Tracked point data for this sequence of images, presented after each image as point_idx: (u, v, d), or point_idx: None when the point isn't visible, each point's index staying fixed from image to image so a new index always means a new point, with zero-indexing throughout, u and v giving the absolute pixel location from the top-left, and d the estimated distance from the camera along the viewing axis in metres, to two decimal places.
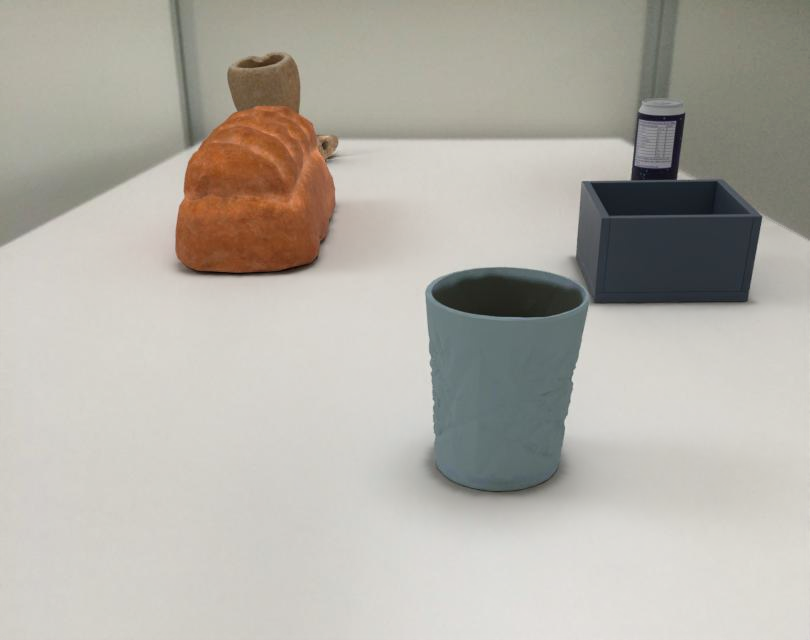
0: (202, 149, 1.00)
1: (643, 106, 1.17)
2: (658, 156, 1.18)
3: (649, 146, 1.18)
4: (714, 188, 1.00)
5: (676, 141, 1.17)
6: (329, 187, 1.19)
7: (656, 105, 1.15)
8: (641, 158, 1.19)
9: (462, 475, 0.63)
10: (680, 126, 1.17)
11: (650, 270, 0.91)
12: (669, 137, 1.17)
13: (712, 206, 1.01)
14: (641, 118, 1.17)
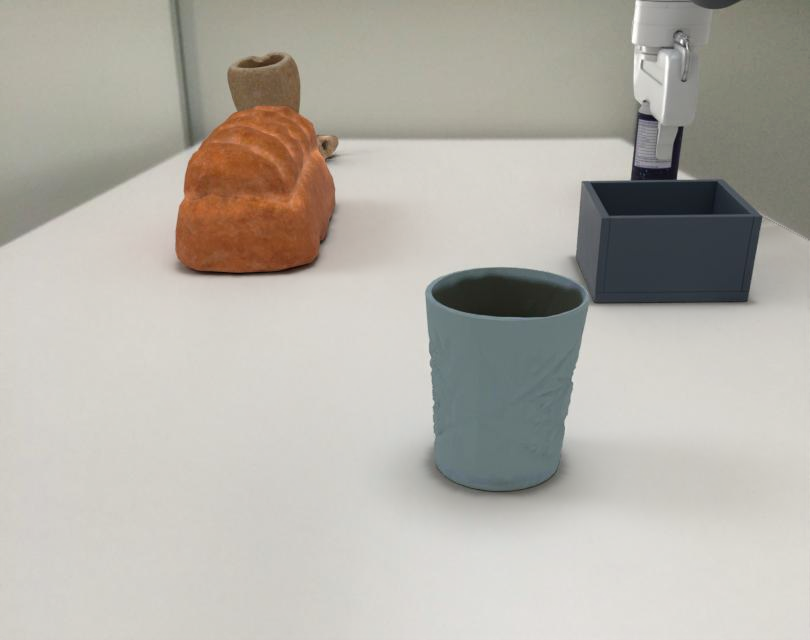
0: (202, 149, 1.00)
1: (643, 106, 1.17)
2: None
3: (648, 146, 1.18)
4: (714, 188, 1.00)
5: (676, 141, 1.17)
6: (329, 187, 1.19)
7: None
8: (641, 158, 1.19)
9: (462, 475, 0.63)
10: (680, 126, 1.17)
11: (650, 270, 0.91)
12: None
13: (712, 206, 1.01)
14: (641, 118, 1.17)
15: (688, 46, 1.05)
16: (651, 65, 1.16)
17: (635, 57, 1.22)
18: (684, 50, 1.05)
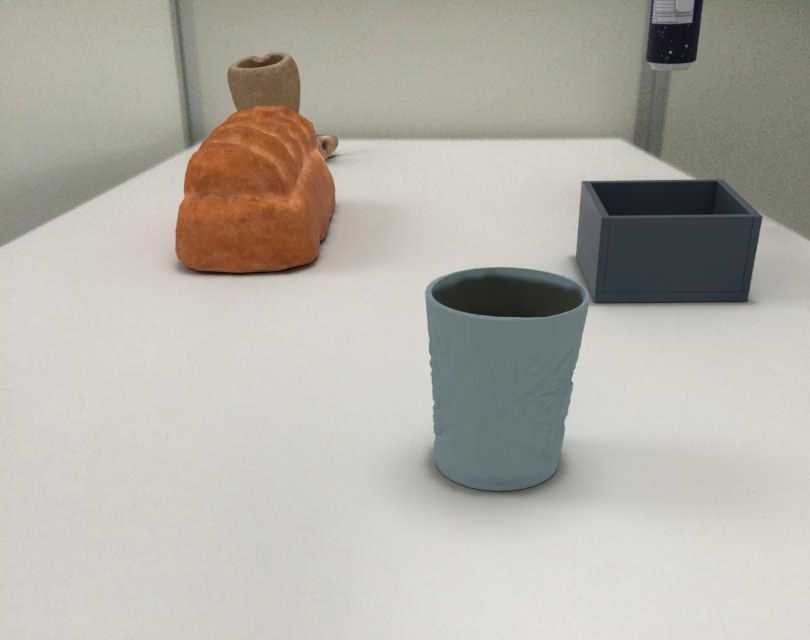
0: (202, 149, 1.00)
1: None
2: None
3: None
4: (714, 188, 1.00)
5: None
6: (329, 187, 1.19)
7: None
8: (660, 12, 1.08)
9: (462, 475, 0.63)
10: None
11: (650, 270, 0.91)
12: None
13: (712, 206, 1.01)
14: None
15: None
16: None
17: None
18: None
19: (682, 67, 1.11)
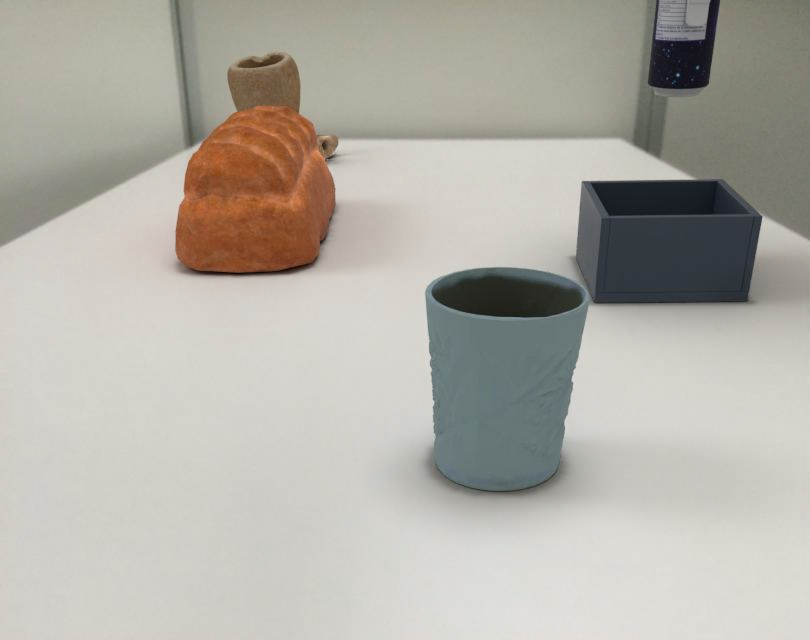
0: (202, 149, 1.00)
1: None
2: None
3: (675, 10, 0.87)
4: (714, 188, 1.00)
5: (713, 1, 0.87)
6: (329, 187, 1.19)
7: None
8: (665, 27, 0.88)
9: (462, 475, 0.63)
10: None
11: (650, 270, 0.91)
12: None
13: (712, 206, 1.01)
14: None
15: None
16: None
17: None
18: None
19: (692, 93, 0.91)
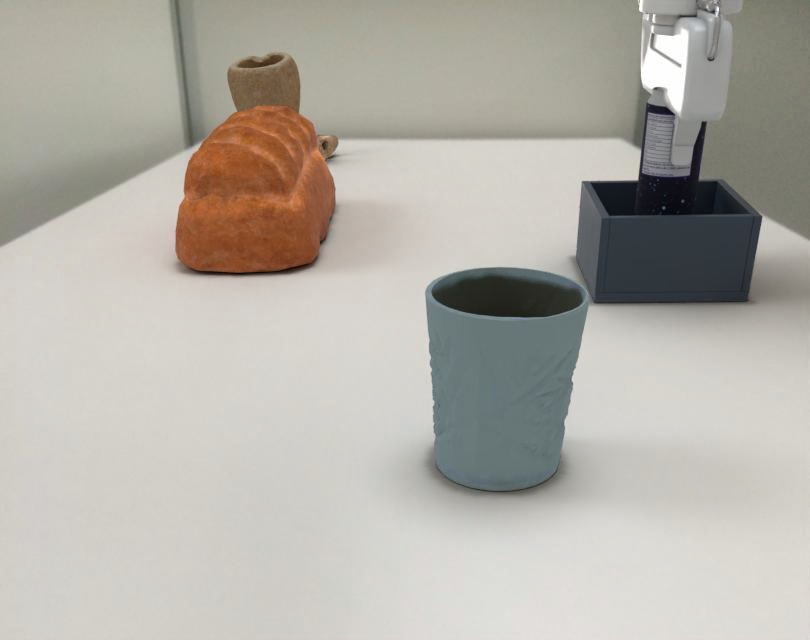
0: (202, 149, 1.00)
1: (654, 95, 0.89)
2: None
3: (661, 148, 0.90)
4: (714, 188, 1.00)
5: (697, 141, 0.89)
6: (329, 187, 1.19)
7: None
8: (651, 163, 0.91)
9: (462, 475, 0.63)
10: (703, 121, 0.89)
11: (650, 270, 0.91)
12: None
13: (712, 206, 1.01)
14: (651, 110, 0.89)
15: (718, 11, 0.77)
16: (665, 41, 0.88)
17: (643, 32, 0.94)
18: (712, 17, 0.77)
19: None
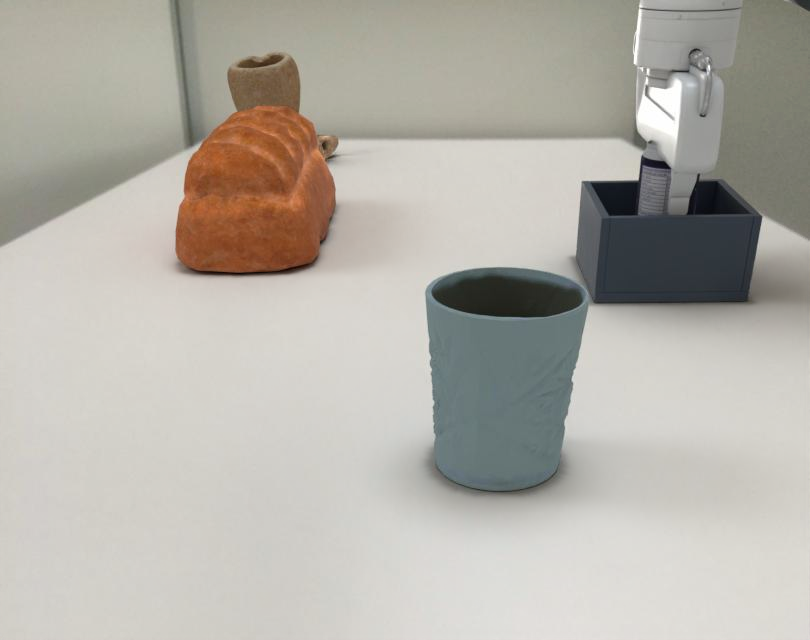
0: (202, 149, 1.00)
1: (648, 149, 0.91)
2: None
3: (655, 200, 0.92)
4: (714, 188, 1.00)
5: None
6: (329, 187, 1.19)
7: None
8: (646, 214, 0.93)
9: (462, 475, 0.63)
10: None
11: (650, 270, 0.91)
12: None
13: (712, 206, 1.01)
14: (646, 164, 0.92)
15: (709, 70, 0.79)
16: (659, 92, 0.91)
17: (638, 80, 0.96)
18: (704, 76, 0.80)
19: None
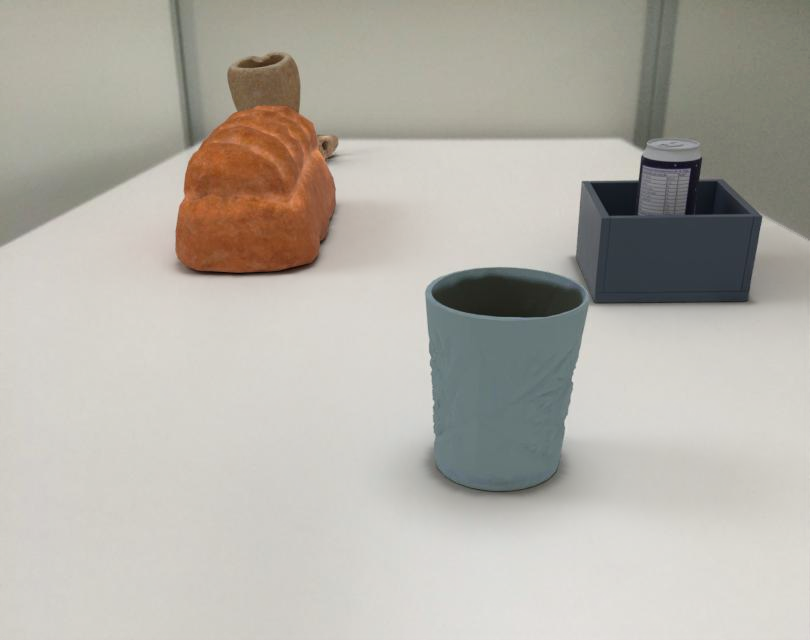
0: (202, 149, 1.00)
1: (648, 149, 0.91)
2: (668, 212, 0.92)
3: (655, 200, 0.92)
4: (714, 188, 1.00)
5: (690, 193, 0.92)
6: (329, 187, 1.19)
7: (665, 148, 0.90)
8: (646, 214, 0.93)
9: (462, 475, 0.63)
10: (696, 174, 0.91)
11: (650, 270, 0.91)
12: (681, 188, 0.91)
13: (712, 206, 1.01)
14: (646, 164, 0.92)
15: None
16: None
17: None
18: None
19: None
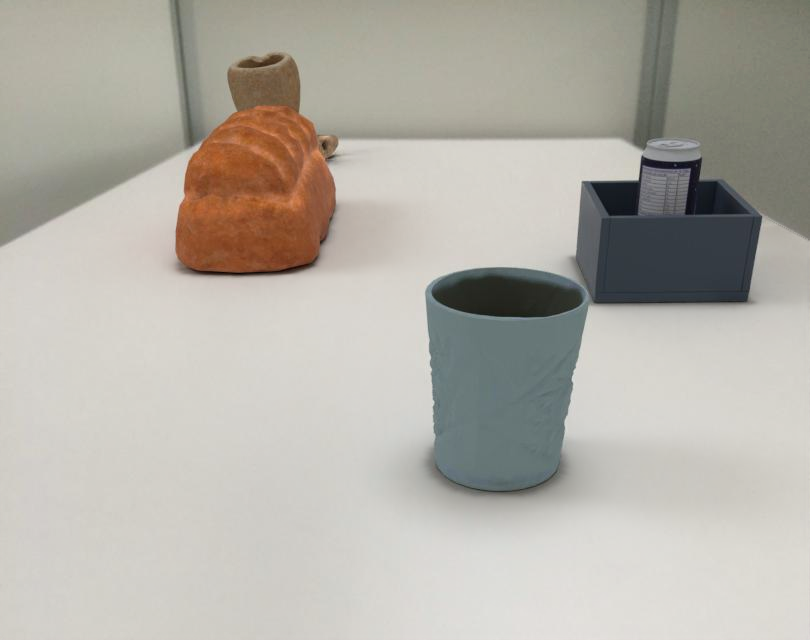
0: (202, 149, 1.00)
1: (648, 149, 0.91)
2: (668, 212, 0.92)
3: (655, 200, 0.92)
4: (714, 188, 1.00)
5: (690, 193, 0.92)
6: (330, 187, 1.19)
7: (665, 148, 0.90)
8: (646, 214, 0.93)
9: (462, 475, 0.63)
10: (696, 174, 0.91)
11: (650, 270, 0.91)
12: (681, 188, 0.91)
13: (712, 206, 1.01)
14: (646, 164, 0.92)
15: None
16: None
17: None
18: None
19: None
